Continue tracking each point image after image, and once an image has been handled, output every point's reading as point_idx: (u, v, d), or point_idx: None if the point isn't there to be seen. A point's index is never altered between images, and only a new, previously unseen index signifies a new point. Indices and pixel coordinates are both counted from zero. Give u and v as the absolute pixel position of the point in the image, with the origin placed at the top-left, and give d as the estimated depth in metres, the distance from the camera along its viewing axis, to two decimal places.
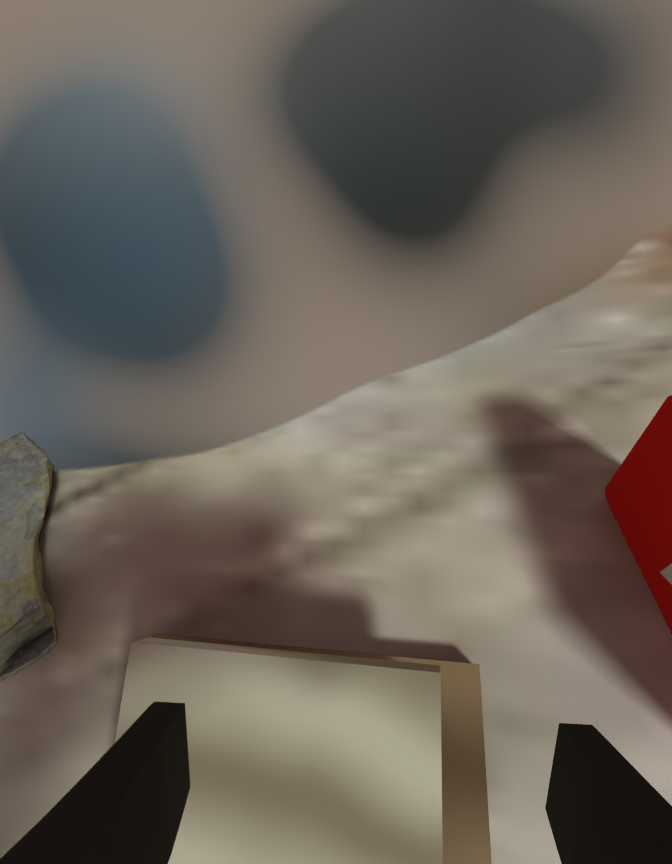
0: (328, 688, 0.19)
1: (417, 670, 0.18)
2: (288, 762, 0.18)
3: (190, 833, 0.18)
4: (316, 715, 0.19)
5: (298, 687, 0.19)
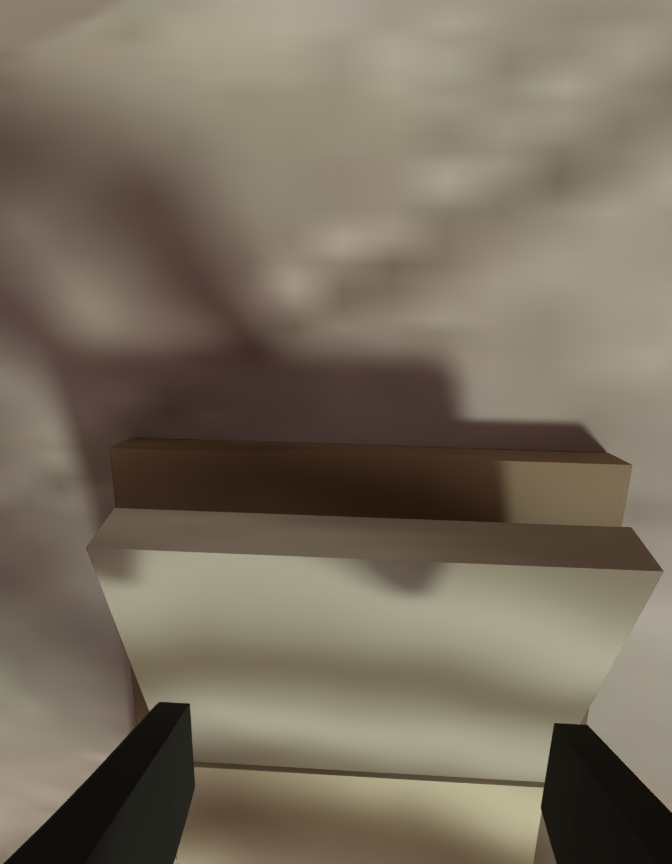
0: (462, 591, 0.11)
1: (623, 568, 0.11)
2: (395, 655, 0.13)
3: (267, 704, 0.15)
4: (440, 617, 0.12)
5: (412, 591, 0.11)
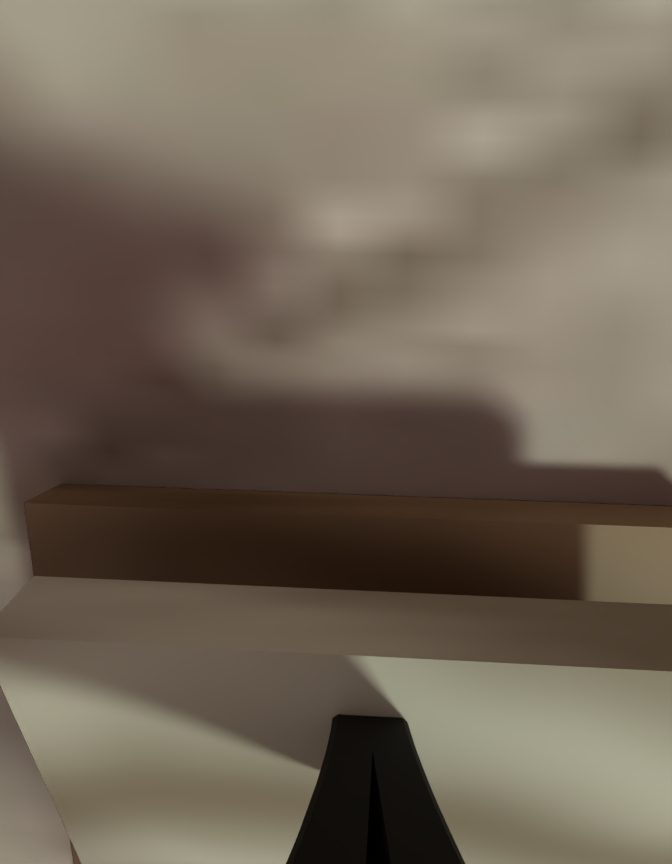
0: (510, 702, 0.08)
1: None
2: None
3: (237, 849, 0.11)
4: (476, 737, 0.08)
5: (437, 702, 0.08)
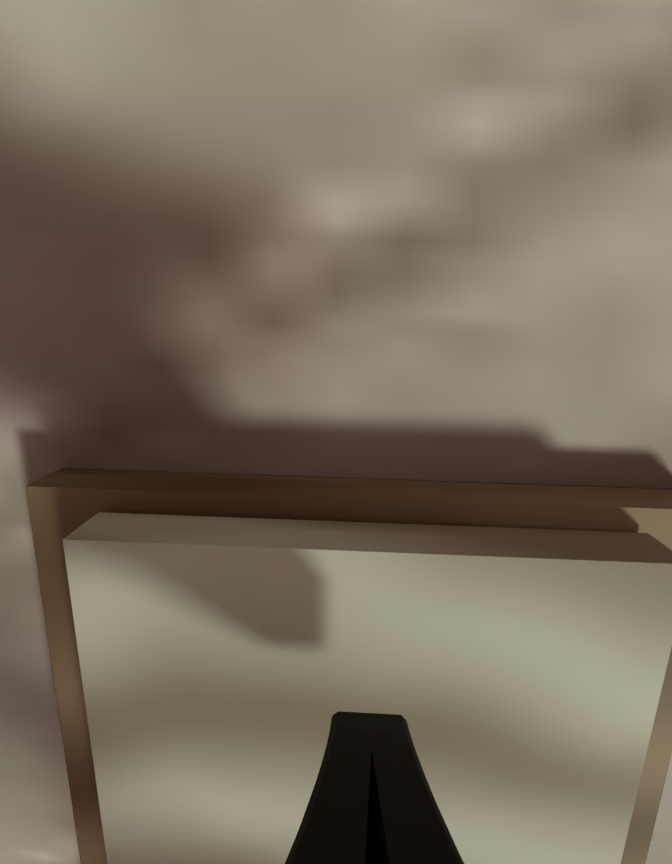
0: (474, 595, 0.10)
1: (646, 562, 0.10)
2: (402, 696, 0.11)
3: (246, 781, 0.12)
4: (451, 634, 0.10)
5: (418, 596, 0.10)
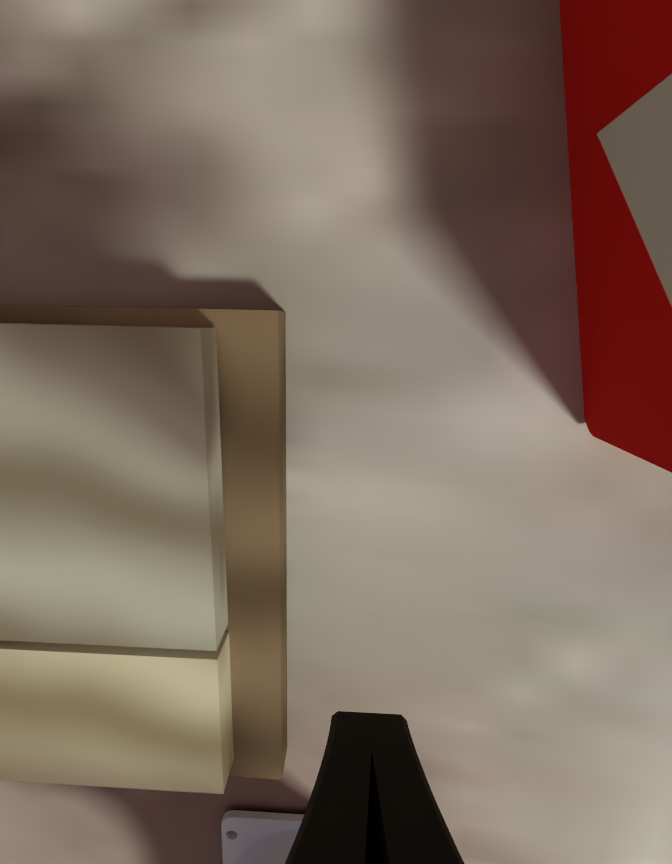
0: (51, 358, 0.14)
1: (170, 328, 0.13)
2: (17, 448, 0.14)
3: None
4: (42, 393, 0.14)
5: (11, 361, 0.14)
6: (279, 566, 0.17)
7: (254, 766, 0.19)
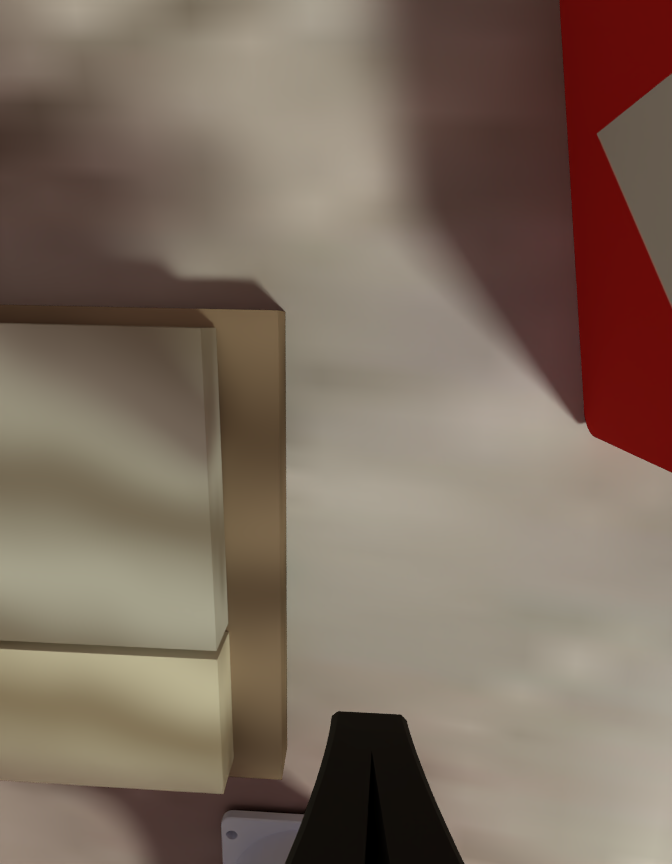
0: (51, 358, 0.14)
1: (170, 328, 0.13)
2: (17, 448, 0.14)
3: None
4: (42, 393, 0.14)
5: (11, 361, 0.14)
6: (279, 566, 0.17)
7: (254, 766, 0.19)
